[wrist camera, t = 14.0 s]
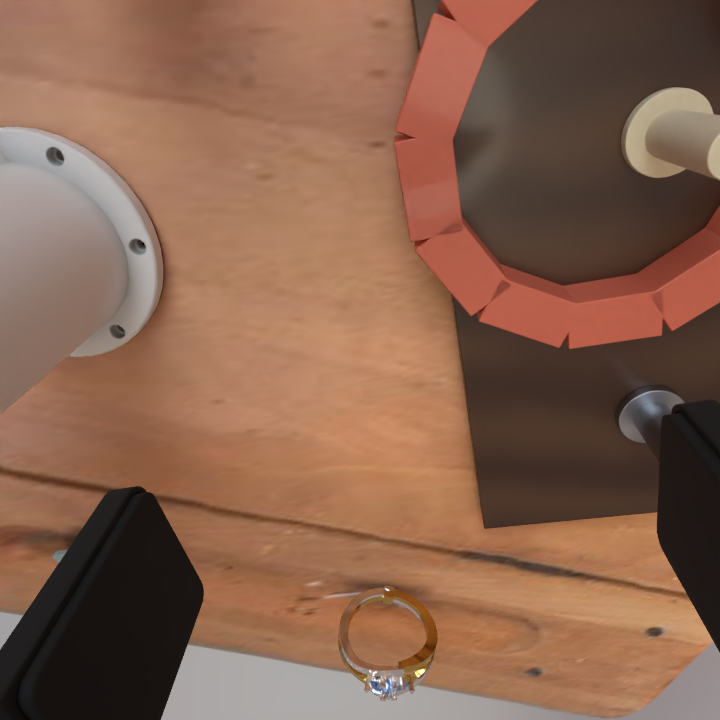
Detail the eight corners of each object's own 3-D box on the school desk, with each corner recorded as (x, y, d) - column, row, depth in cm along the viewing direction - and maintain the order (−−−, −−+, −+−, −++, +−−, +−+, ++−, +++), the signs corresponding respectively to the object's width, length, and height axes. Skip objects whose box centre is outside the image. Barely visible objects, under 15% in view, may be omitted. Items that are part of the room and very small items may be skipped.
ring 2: (870, -184, 18) (931, -217, 16) (786, 293, 26) (819, 312, 24) (364, -44, 21) (360, -56, 19) (429, 348, 29) (432, 369, 27)
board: (408, -20, 23) (408, -25, 21) (918, -154, 20) (956, -171, 18) (481, 512, 37) (484, 529, 35) (783, 482, 34) (798, 499, 32)
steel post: (604, 404, 30) (647, 474, 25) (668, 374, 29) (726, 441, 24) (630, 446, 31) (675, 522, 26) (691, 419, 30) (752, 493, 25)
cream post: (607, 122, 23) (666, 139, 18) (690, 67, 22) (779, 68, 17) (639, 191, 25) (704, 225, 19) (719, 143, 23) (811, 165, 18)
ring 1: (436, 581, 40) (444, 689, 34) (428, 608, 42) (434, 716, 35) (346, 568, 40) (335, 673, 34) (342, 595, 42) (330, 701, 35)
